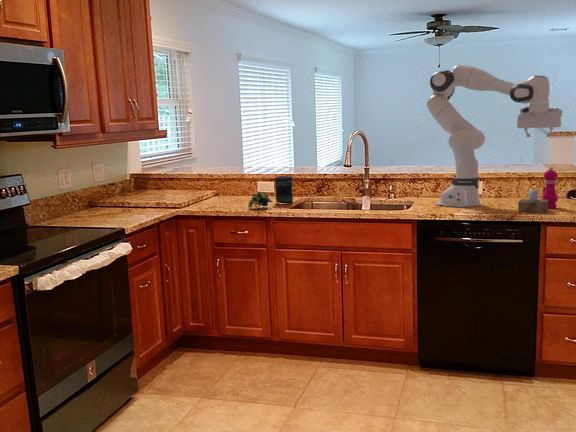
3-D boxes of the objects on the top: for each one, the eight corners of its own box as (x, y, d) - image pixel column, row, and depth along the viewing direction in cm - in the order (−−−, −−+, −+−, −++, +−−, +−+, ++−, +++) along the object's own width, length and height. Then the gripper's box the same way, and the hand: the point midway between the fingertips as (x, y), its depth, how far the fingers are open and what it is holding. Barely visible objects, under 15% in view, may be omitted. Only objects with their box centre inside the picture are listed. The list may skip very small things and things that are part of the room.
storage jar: (282, 201, 351) (281, 176, 349) (296, 202, 346) (295, 176, 343) (272, 204, 344) (271, 178, 341) (286, 204, 338) (285, 178, 335)
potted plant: (263, 217, 333) (275, 199, 332) (259, 216, 322) (271, 198, 321) (247, 205, 335) (259, 187, 334) (242, 205, 324) (254, 186, 323)
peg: (529, 210, 289) (530, 189, 288) (537, 210, 288) (538, 190, 286) (528, 211, 286) (529, 190, 285) (536, 212, 284) (537, 191, 283)
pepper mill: (559, 208, 290) (560, 167, 287) (543, 209, 292) (544, 167, 288) (555, 206, 297) (557, 166, 294) (540, 206, 299) (541, 166, 295)
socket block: (518, 212, 286) (518, 201, 285) (521, 209, 294) (521, 198, 293) (545, 213, 280) (545, 202, 279) (547, 210, 288) (548, 199, 288)
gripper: (562, 107, 294) (561, 136, 297) (518, 109, 304) (517, 137, 306) (561, 108, 289) (560, 137, 291) (516, 109, 299) (516, 137, 301)
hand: (538, 137), depth 299 cm, fingers open, 8 cm apart
